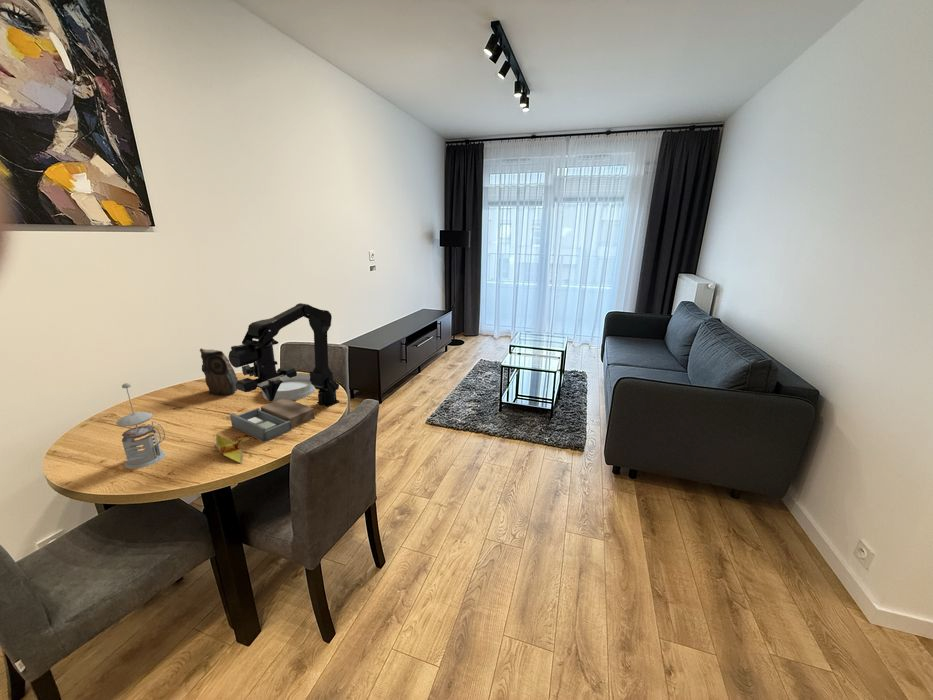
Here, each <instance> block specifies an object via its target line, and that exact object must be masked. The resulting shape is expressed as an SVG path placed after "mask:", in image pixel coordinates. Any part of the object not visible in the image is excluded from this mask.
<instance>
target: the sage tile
mask: <svg viewBox="0 0 933 700" xmlns="http://www.w3.org/2000/svg"><path fill="white" fill-rule="evenodd" d="M259 426H262V427H264V428H265V431H266V430H268V429H271V428H273V427H275V426H276V424H273V423H271V422H269V421H267V422H264V423H262V424H259Z"/></svg>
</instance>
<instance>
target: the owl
mask: <svg viewBox="0 0 933 700" xmlns="http://www.w3.org/2000/svg"><path fill="white" fill-rule="evenodd" d="M199 352H200V357H201V361H202V362H201V363H202V364H201V371H202V373H203V374H204V376H205V377H204V378H205V379H204V380H205V384H206V386H207V388H208V394H209V395H214V396H218V397H220V396H221V397H223V396H233V395H235V394H236V392H237V391H238V389H236V383H237V381H239V380H238V379H239V378H238V376H237V374H236V372H235V369H234V367H233V366H232V365H231V363H230V361H229V358H228V356H227V355H225V353H224V352H223V351H222V350H218V349H204V348H200V349H199ZM235 391H236V392H235ZM234 393H235V394H234Z"/></svg>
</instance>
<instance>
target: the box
mask: <svg viewBox="0 0 933 700" xmlns="http://www.w3.org/2000/svg"><path fill="white" fill-rule="evenodd" d="M229 416H230V423H231V427H232V428H234V429H236V430H238V431H240V432H242V433H244V434H246V435H249V436H250V437H253V438H254V439H257V440H259V441H261V442H263V443H267V442H268V441H271V440H273V439H274V438H275V439H276V438H277V437H279V436H281V435H284V434H286V433H288V432H291V431H292V429H293V428H292V429H291V421H286V420H283V419H281V418H279V417H276V416H274V415H271V414H269V413H266V412H264V411H262V410H261V409H260V408H259V407H256V408H254V409H251V410H248V411H246V412H243V413H240V414H238V415H237V414H235V413H230V414H229ZM254 417H256V418H258V419H260V420H263V423H264V422H267V421H269V422H271V423H273V424H276V426H275V427H273V428H271V429H268V430H266V431H265V428H264V427H262V426H259V425H257V424H255V423H253V422H250V421H248V419H251V418H254Z"/></svg>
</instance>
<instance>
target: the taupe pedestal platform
mask: <svg viewBox="0 0 933 700" xmlns="http://www.w3.org/2000/svg"><path fill="white" fill-rule="evenodd" d="M260 410H262V411H264V412H266V413H269V414H271V415H274V416H276V417H279V418H281V419H283V420H286V421H291V429H293V428H295V427H298V426H301V425H302V424H304V423H307V422H309V421H311V420H313V419H315V408H314V407H311V406H308V405H305V404H303V403H301V402H297V401H296V400H293V401H292V400H289V399H286V398H283V399H280V400H278V401H271V402H270V403H268V404H264V405H262V406H260Z"/></svg>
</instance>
